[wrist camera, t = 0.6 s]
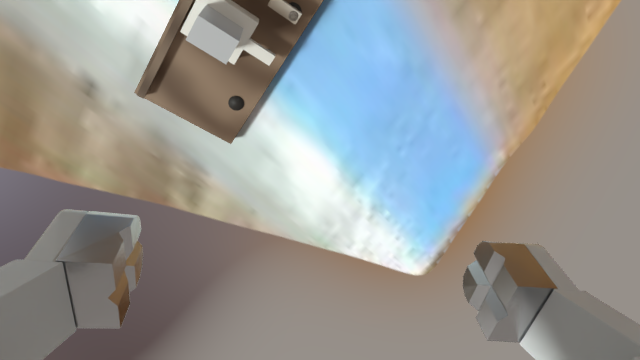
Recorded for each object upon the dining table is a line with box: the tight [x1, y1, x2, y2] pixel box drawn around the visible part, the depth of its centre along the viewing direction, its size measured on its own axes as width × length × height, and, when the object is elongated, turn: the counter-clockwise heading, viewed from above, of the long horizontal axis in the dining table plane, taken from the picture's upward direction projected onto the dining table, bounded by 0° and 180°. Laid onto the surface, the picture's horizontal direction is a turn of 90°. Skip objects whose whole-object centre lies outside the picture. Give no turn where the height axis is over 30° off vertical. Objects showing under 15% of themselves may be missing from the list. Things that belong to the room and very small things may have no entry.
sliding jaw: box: [180, 0, 275, 66], centre depth 41 cm, size 5×9×7 cm, turn 55°
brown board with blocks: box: [134, 0, 323, 144], centre depth 44 cm, size 20×12×4 cm, turn 145°
